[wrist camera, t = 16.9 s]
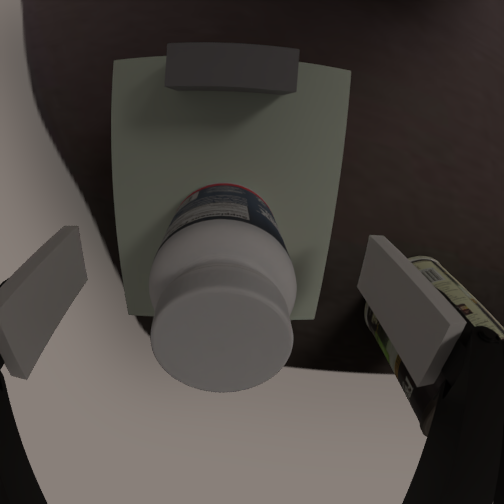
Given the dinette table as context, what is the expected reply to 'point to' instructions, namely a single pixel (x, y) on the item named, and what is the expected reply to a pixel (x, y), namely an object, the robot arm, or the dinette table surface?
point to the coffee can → (416, 395)
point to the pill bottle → (222, 291)
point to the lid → (227, 149)
